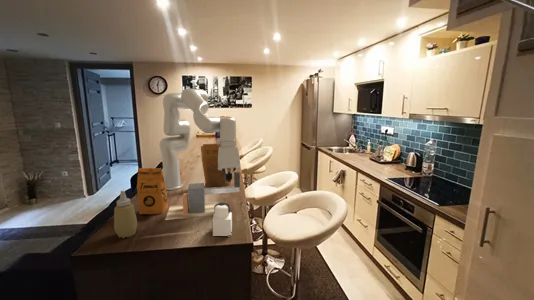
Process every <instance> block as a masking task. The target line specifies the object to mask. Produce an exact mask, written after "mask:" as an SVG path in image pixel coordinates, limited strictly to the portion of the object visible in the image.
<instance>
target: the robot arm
mask: <svg viewBox="0 0 534 300" xmlns="http://www.w3.org/2000/svg"><path fill="white" fill-rule="evenodd" d="M208 102H209V95H208V92H207V91H206V90H205V89H200V88H185V89H183V90H182V91H181V93H180V92H170V93H165V95H163V98H162V106H163V107H162V108H163V113H164V115H163V133H164V135H165V136H167V137H164V138H162V139H161V140H160V141H159V149H160V153H161V160H162V172H163V177H164V181H165V185H166V191H172V190H179V189H181V188H182V187H184V184H183V183H182V182H181V173H180V171H181V170H180V159H179V156H178V155H177V154H176V153H177V152H183V151H187V150H188V149H189V146H190V140H191V139H190V137H191V124H190V122H189V121H188V120H186V119H180V118H181V117H180V116H181V113H180V111H179V109H183V110H184V109H190V110H191V111H192V113H193V115H192V116H193V122H194V124H195V125H196V126H197V128H198V130H200V131H201V132H203V133H206V134H213V133H219V141H217V142H216V143H217V145H220V147H219V150H218V170H222V171H224V172H225V173H226V180H227V181H228V182H229V181H230V183H231V182H232V180H233V174H234V172H236V170H240V168H241V164H240V150H239V146H237V121H236V119H235V118H234V117H225V116H224V117H223V116H206V115H205V114H206V113H207V112H208V111H209V108H210V107H209V103H208ZM227 168H230V171H229V172H228V170H227Z"/></svg>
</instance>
